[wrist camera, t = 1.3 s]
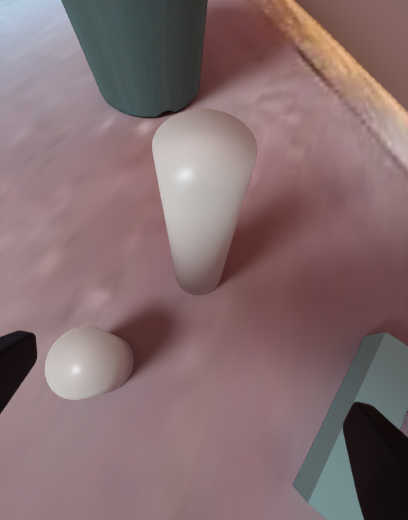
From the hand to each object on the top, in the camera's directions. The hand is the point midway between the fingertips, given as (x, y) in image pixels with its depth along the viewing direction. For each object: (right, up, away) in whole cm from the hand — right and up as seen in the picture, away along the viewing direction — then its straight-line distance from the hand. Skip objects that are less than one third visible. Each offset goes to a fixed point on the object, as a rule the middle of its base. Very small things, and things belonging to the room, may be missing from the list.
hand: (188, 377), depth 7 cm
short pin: (-7, -4, +12) cm, 15 cm away
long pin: (0, +2, +16) cm, 16 cm away
